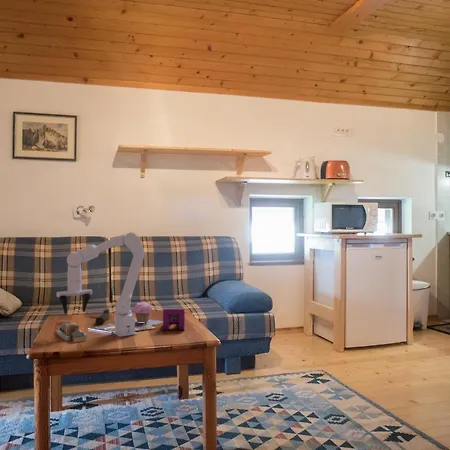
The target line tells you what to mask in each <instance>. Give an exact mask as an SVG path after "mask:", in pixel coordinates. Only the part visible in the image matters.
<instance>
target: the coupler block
mask: <svg viewBox="0 0 450 450" xmlns="http://www.w3.org/2000/svg"><path fill="white" fill-rule="evenodd" d="M63 323H64V322H63ZM74 329H78V330H80V325H79V324H78V323H76V322H66V323H64V332H63V333H64V334H66V335H67V336H69V340H70V339H72V337H71V332H72V331H73V330H74Z"/></svg>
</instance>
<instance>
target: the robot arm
mask: <svg viewBox="0 0 450 450" xmlns="http://www.w3.org/2000/svg"><path fill="white" fill-rule="evenodd" d="M124 245H125V246H126V248H128V249H129V250H130V252H131V254H132V256H133V257H132V260H131V263H130V267H129V269H128V273H127V276H126V278H125V282H124V285H123V288H122V290H121V294H120V295H119V297H118V299H117V300H116V303H115V310H116V311H115V312H114V330H112V331H111V333H112V332H113V333H112V334H114V335H116V336H118V337H121V338H122V337H127V336H133V335H134V336H135V335H138V333H137V332H136V319H135V317H134V316H133V312H132V310H131V305H132V301H131V300H132V296H133V294H134V290H135V287H136V284H137V281H138V277H139V273H140V271H141V268H142V265H143V261H144V258H145V256H146V255H145V250H144V247H143V243H142V241H141V238H140V237H139V236H138V234H136V233H135V232H127V233H125V234H121V235H116V236H115V237H113V238H110V239H108V240H106V241H104V242H102V243H100V244H98V245H95V244H87V245H86V247H83V248H81V249H76V250H75V252H71V253H70V254H69V255H67V256H66V257H67V258H66V263H67V290H64V291H56V297H57V298H58V299H59V301H60V304H61V306H62V309H63V314H65V315H67V314H68V307H67V305H68V298H67V297H72V296H73V297H75V296H81V299H82V312H83V313H85V312H86V309H87V306H88V303H89V301H90V298H91V295H93V289H82V286H83V285H82V279H83V277H82V276H83V275H82V273H83V272H82V271H83V270H82V263H87V262H88V261H91V260H92V259H96V258H97V257H99V254H100V253H101V252H103V251H106V250H108V249H110V248H113V247H116V246H120V247H121V246H122V247H123V246H124Z"/></svg>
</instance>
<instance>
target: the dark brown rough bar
mask: <svg viewBox="0 0 450 450" xmlns="http://www.w3.org/2000/svg"><path fill="white" fill-rule="evenodd" d="M102 312H103V313H102V314H101V315H99V316H98V317H96V318H95V320H94V321H95V325H97V326H102V325H104V323H105V322H106V321H107V320H109V319H110V309H109V308H108V309H107V308H106V309H104V310H103V311H102Z"/></svg>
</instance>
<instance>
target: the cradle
mask: <svg viewBox="0 0 450 450" xmlns="http://www.w3.org/2000/svg"><path fill="white" fill-rule="evenodd" d="M80 331H81V332H83V331H82V330H80ZM83 333H84V335H85V336H86V339H87V338H88V334H87V333H86V332H83ZM56 335H58V336H59V337H60V338H61V339H63V340H64V341H66V342H67V341H70V339H69V336H67V335H66V334H64V332H62V331H60V330H59V331H58V330H56Z"/></svg>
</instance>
